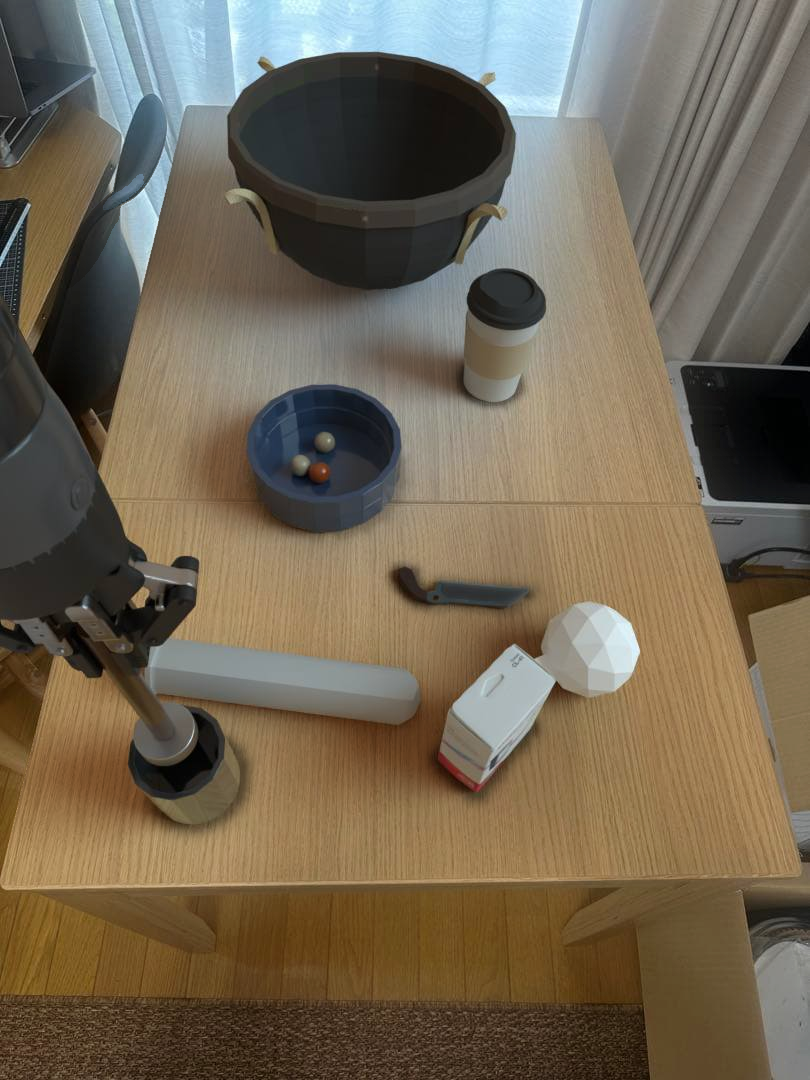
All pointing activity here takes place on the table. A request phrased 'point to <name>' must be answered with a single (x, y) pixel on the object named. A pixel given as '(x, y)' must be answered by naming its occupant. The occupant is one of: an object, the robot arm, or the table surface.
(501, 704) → the ink box
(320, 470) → the bead
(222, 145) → the table surface
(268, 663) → the tube
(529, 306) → the coffee cup
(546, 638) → the light bulb
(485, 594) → the knife
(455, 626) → the table surface
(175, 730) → the brown handled pestle
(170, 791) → the holder
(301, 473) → the bead
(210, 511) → the table surface
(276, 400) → the mixing bowl
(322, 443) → the bead
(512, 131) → the bowl
